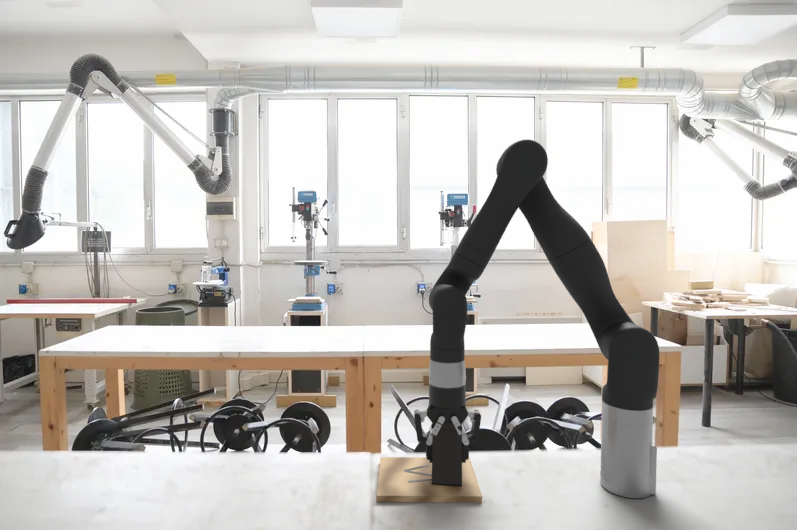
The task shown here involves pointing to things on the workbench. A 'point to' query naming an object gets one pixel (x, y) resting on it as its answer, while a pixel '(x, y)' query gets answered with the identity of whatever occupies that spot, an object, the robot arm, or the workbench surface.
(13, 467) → the workbench surface
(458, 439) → the phone stand
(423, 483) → the oak board
